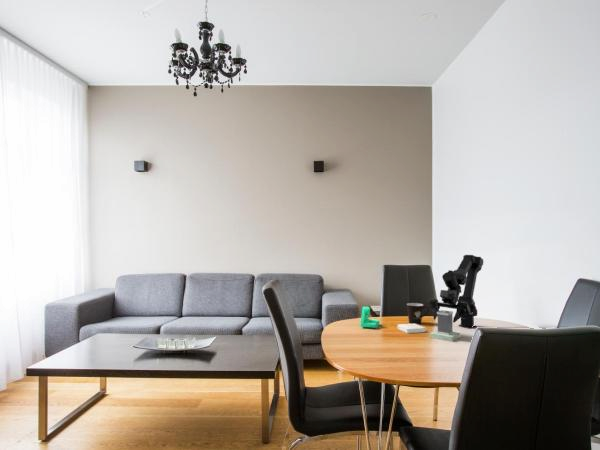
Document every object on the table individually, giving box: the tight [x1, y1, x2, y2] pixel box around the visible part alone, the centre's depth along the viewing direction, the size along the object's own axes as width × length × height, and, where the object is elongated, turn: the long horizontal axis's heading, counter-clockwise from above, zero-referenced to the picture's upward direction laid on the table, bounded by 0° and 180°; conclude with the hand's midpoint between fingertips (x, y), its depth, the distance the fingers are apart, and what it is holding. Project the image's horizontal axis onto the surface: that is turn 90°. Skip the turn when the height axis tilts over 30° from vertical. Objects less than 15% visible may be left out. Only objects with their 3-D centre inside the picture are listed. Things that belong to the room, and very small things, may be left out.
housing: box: [436, 309, 454, 335], centre depth 184 cm, size 6×6×10 cm
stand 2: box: [429, 329, 461, 342], centre depth 183 cm, size 10×10×2 cm
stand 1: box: [396, 323, 427, 334], centre depth 197 cm, size 10×10×2 cm
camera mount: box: [359, 306, 380, 329], centre depth 206 cm, size 12×8×10 cm, turn 158°
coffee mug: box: [406, 302, 430, 325], centre depth 213 cm, size 12×9×10 cm
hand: (443, 320), depth 183 cm, fingers open, 9 cm apart
